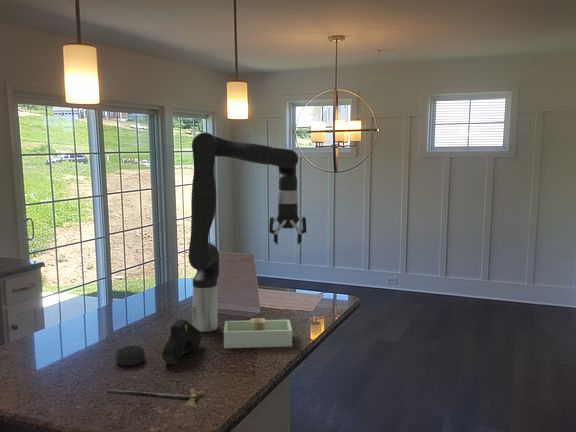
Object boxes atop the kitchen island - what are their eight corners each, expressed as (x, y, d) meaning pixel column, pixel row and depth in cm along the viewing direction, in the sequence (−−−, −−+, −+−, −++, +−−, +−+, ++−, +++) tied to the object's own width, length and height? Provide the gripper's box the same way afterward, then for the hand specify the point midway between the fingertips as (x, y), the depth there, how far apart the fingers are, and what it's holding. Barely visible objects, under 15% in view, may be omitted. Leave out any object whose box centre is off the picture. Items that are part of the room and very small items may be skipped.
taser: (158, 360, 162) (172, 314, 169) (182, 373, 177) (194, 330, 183) (170, 361, 161) (183, 316, 167) (193, 374, 175) (204, 332, 182)
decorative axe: (104, 390, 145) (126, 372, 154) (104, 395, 146) (127, 377, 155) (195, 411, 135) (213, 390, 144) (195, 416, 135) (214, 395, 144)
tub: (223, 348, 179) (223, 332, 178) (225, 336, 191) (225, 321, 190) (292, 346, 181) (292, 330, 180) (289, 334, 193) (289, 319, 192)
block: (251, 341, 183) (251, 322, 182) (250, 336, 188) (250, 318, 187) (265, 341, 184) (265, 322, 183) (264, 336, 188) (264, 318, 188)
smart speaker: (112, 360, 168) (112, 349, 168) (138, 354, 174) (138, 342, 173) (122, 369, 161) (122, 357, 161) (149, 362, 167) (148, 351, 166)
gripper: (269, 203, 191) (269, 245, 193) (307, 203, 192) (307, 245, 195) (268, 201, 199) (268, 242, 201) (305, 201, 200) (304, 241, 202)
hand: (287, 243), depth 198 cm, fingers open, 8 cm apart
